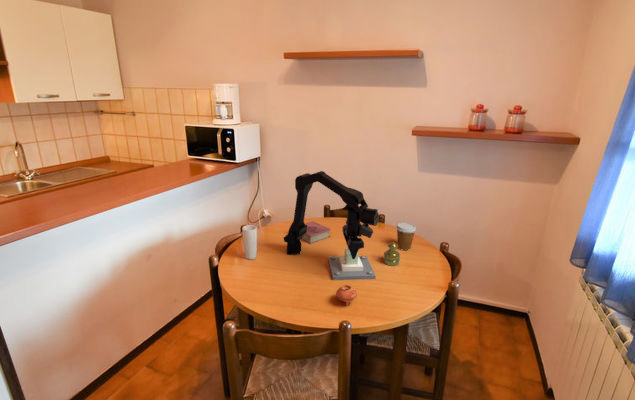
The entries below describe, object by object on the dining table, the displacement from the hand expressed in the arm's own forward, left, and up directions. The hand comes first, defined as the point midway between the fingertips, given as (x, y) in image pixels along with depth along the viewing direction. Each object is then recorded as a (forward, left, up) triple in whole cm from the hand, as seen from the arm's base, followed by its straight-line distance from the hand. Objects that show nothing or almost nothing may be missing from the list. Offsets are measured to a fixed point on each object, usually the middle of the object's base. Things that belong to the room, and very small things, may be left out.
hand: (351, 254), depth 151 cm
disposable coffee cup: (+31, +20, -8) cm, 38 cm away
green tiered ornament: (+20, +5, -8) cm, 22 cm away
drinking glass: (-45, +13, -8) cm, 48 cm away
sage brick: (0, 0, -4) cm, 4 cm away
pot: (-6, -24, -8) cm, 26 cm away
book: (-15, +37, -8) cm, 41 cm away
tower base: (0, 0, -7) cm, 7 cm away
